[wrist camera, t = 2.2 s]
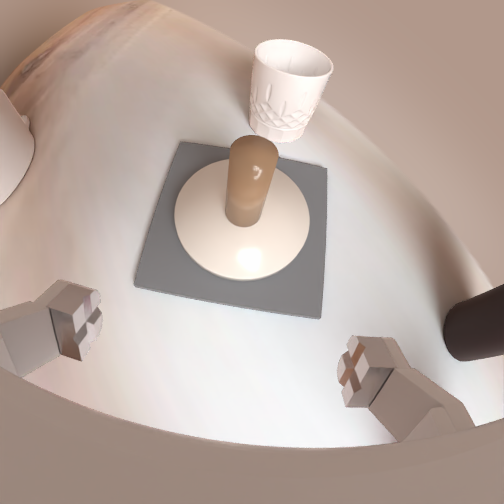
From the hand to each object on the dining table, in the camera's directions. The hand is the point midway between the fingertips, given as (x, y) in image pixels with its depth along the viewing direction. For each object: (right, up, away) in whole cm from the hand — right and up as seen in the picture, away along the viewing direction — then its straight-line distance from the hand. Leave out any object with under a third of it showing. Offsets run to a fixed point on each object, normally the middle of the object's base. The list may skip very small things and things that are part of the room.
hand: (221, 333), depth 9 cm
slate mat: (0, +5, +19) cm, 20 cm away
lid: (0, +6, +18) cm, 19 cm away
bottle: (+24, -7, +17) cm, 31 cm away
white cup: (+4, +18, +24) cm, 30 cm away
